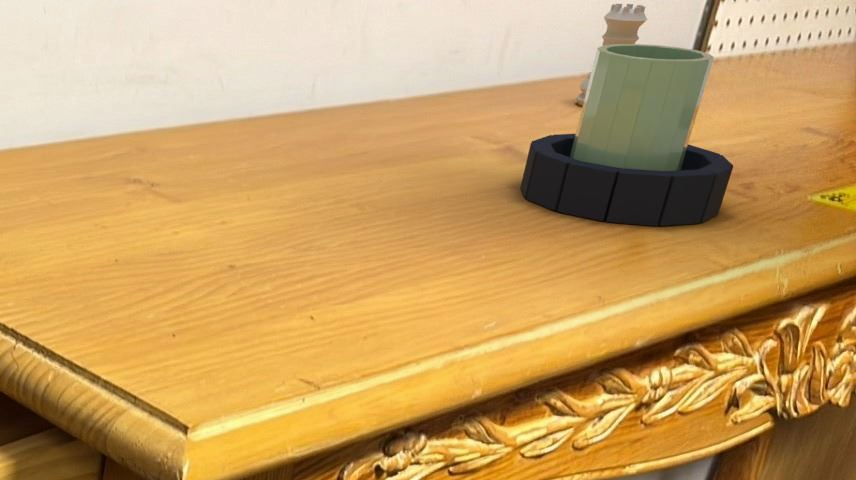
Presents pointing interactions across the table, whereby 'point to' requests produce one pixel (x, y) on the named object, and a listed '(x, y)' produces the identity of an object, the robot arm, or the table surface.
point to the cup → (641, 106)
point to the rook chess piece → (618, 32)
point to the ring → (625, 186)
